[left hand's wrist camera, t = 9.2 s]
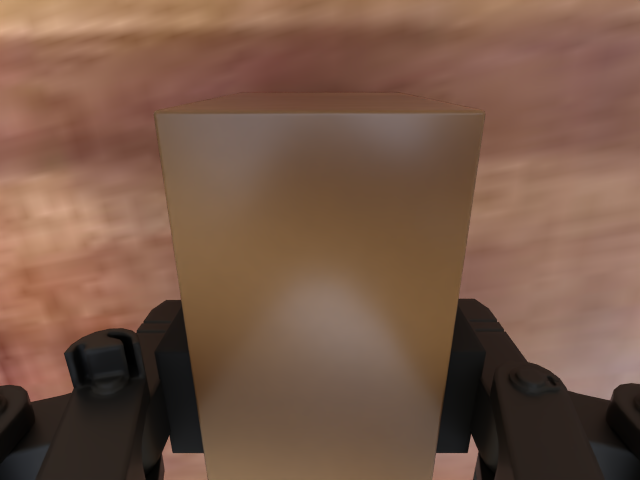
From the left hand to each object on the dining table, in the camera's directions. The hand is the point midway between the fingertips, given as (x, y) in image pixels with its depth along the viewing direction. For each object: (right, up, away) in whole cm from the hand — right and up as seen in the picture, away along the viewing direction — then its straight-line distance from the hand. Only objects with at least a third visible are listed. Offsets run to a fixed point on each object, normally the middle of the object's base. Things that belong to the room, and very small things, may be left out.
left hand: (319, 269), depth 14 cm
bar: (0, -27, +12) cm, 30 cm away
